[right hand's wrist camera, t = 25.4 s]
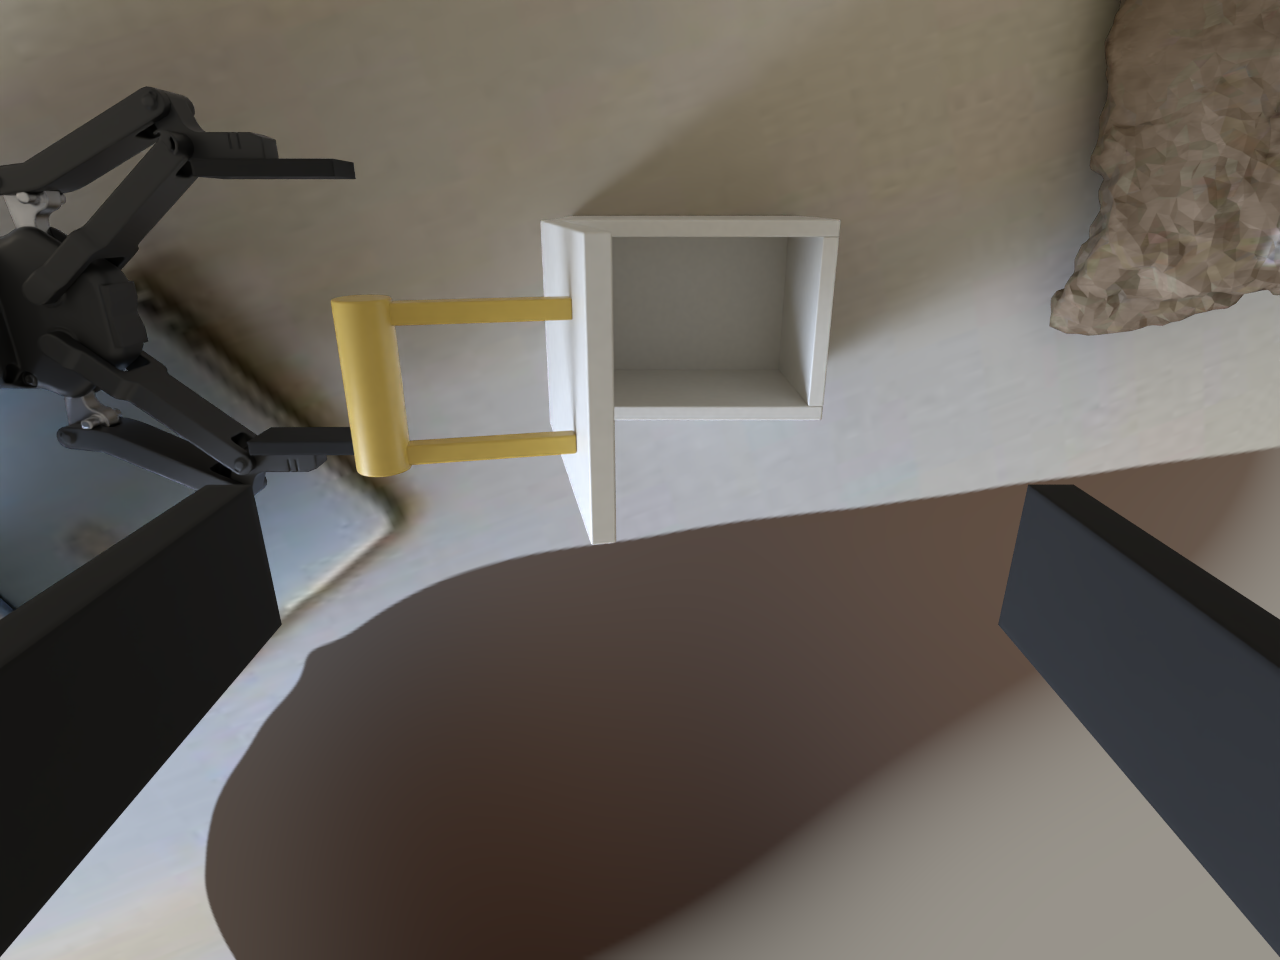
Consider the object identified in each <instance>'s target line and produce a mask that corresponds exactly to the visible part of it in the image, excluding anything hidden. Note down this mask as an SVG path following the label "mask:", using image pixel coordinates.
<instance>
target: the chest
mask: <svg viewBox="0 0 1280 960" xmlns="http://www.w3.org/2000/svg"><path fill="white" fill-rule="evenodd" d="M553 220H560V221H565V222H569V223H574V224H578V225H582V226H587V227H591V228H596V229H600V230H605V231H609V232H611V233H612V272H613V345H614V418H615V420H821V419H822V410H823V407H822V406H823V401H824V391H825V381H826V370H827V360H828V349H829V339H830V329H831V318H832V308H833V298H834V287H835V277H836V266H837V256H838V246H839V234H840V224H841V220H839V219H829V218H818V217H807V216H567V217H562V218H557V219H553Z"/></svg>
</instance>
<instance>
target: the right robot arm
mask: <svg viewBox="0 0 1280 960" xmlns="http://www.w3.org/2000/svg"><path fill="white" fill-rule="evenodd" d="M281 625H282V624H281V619H280V614H279V610H278V605H277V600H276V596H275V591H274V586H273V582H272V577H271V572H270V568H269V563H268V558H267V554H266V549H265V544H264V540H263V535H262V530H261V526H260V521H259V516H258V511H257V507H256V502H255V497H254V493H253V488H252V485H205V486H204V487H202V488H201V489H199V490H198V491H196V492H195V493H193V494H191V495H190V496H188V497H187V498H185V499H184V500H182V501H181V502H179V503H178V504H176V505H175V506H173V507H172V508H170V509H169V510H167V511H165V512H164V513H162V514H161V515H159V516H158V517H156V518H155V519H153V520H152V521H150V522H149V523H147V524H146V525H144V526H143V527H141V528H139V529H138V530H136V531H135V532H133V533H132V534H130V535H129V536H127V537H126V538H124V539H123V540H121V541H120V542H118V543H117V544H115V545H113V546H112V547H110V548H109V549H107V550H106V551H104V552H103V553H101V554H100V555H98V556H97V557H95V558H94V559H92V560H91V561H89V562H87V563H86V564H84V565H83V566H81V567H80V568H78V569H77V570H75V571H74V572H72V573H71V574H69V575H68V576H66V577H65V578H63V579H61V580H60V581H58V582H57V583H55V584H54V585H52V586H51V587H49V588H48V589H46V590H45V591H43V592H42V593H40V594H39V595H37V596H35V597H34V598H32V599H31V600H29V601H28V602H26V603H25V604H23V605H22V606H20V607H19V608H17V609H16V610H14V611H13V612H11V613H9V614H8V615H6V616H5V617H3V618H2V619H0V957H1V955H2V954H3V953H4V952H5V951H6V950H7V948H8V947H9V946H10V945H11V944H12V942H13V941H14V940H15V939H16V938H17V937H18V935H19V934H20V933H21V932H22V931H23V929H24V928H25V927H26V926H27V925H28V924H29V922H30V921H31V920H32V919H33V918H34V916H35V915H36V914H37V913H38V912H39V911H40V909H41V908H42V907H43V906H44V905H45V904H46V902H47V901H48V900H49V899H50V898H51V896H52V895H53V894H54V893H55V892H56V891H57V889H58V888H59V887H60V886H61V885H62V883H63V882H64V881H65V880H66V879H67V878H68V876H69V875H70V874H71V873H72V872H73V870H74V869H75V868H76V867H77V866H78V865H79V863H80V862H81V861H82V860H83V859H84V857H85V856H86V855H87V854H88V853H89V852H90V850H91V849H92V848H93V847H94V846H95V844H96V843H97V842H98V841H99V840H100V839H101V837H102V836H103V835H104V834H105V833H106V831H107V830H108V829H109V828H110V827H111V826H112V824H113V823H114V822H115V821H116V820H117V818H118V817H119V816H120V815H121V814H122V813H123V811H124V810H125V809H126V808H127V807H128V805H129V804H130V803H131V802H132V801H133V800H134V798H135V797H136V796H137V795H138V794H139V792H140V791H141V790H142V789H143V788H144V787H145V785H146V784H147V783H148V782H149V781H150V779H151V778H152V777H153V776H154V775H155V774H156V772H157V771H158V770H159V769H160V768H161V766H162V765H163V764H164V763H165V762H166V761H167V759H168V758H169V757H170V756H171V755H172V753H173V752H174V751H175V750H176V749H177V748H178V746H179V745H180V744H181V743H182V742H183V740H184V739H185V738H186V737H187V736H188V735H189V733H190V732H191V731H192V730H193V729H194V727H195V726H196V725H197V724H198V723H199V722H200V720H201V719H202V718H203V717H204V716H205V714H206V713H207V712H208V711H209V710H210V709H211V707H212V706H213V705H214V704H215V703H216V701H217V700H218V699H219V698H220V697H221V696H222V694H223V693H224V692H225V691H226V690H227V689H228V687H229V686H230V685H231V684H232V683H233V681H234V680H235V679H236V678H237V677H238V676H239V674H240V673H241V672H242V671H243V670H244V668H245V667H246V666H247V665H248V664H249V663H250V661H251V660H252V659H253V658H254V657H255V655H256V654H257V653H258V652H259V651H260V650H261V648H262V647H263V646H264V645H265V644H266V642H267V641H268V640H269V639H270V638H271V637H272V635H273V634H274V633H275V632H276V631H277V629H278V628H279V627H280V626H281ZM998 625H999V626H1000V627H1001V628H1002V629H1003V631H1004V632H1005V633H1006V634H1007V635H1008V637H1009V638H1010V639H1011V640H1012V641H1013V642H1014V644H1015V645H1016V646H1017V647H1018V648H1019V649H1020V651H1021V652H1022V653H1023V654H1024V655H1025V657H1026V658H1027V659H1028V660H1029V661H1030V662H1031V664H1032V665H1033V666H1034V667H1035V668H1036V670H1037V671H1038V672H1039V673H1040V674H1041V675H1042V677H1043V678H1044V679H1045V680H1046V681H1047V683H1048V684H1049V685H1050V686H1051V687H1052V689H1053V690H1054V691H1055V692H1056V693H1057V694H1058V696H1059V697H1060V698H1061V699H1062V700H1063V701H1064V703H1065V704H1066V705H1067V706H1068V707H1069V709H1070V710H1071V711H1072V712H1073V713H1074V714H1075V716H1076V717H1077V718H1078V719H1079V720H1080V722H1081V723H1082V724H1083V725H1084V726H1085V727H1086V729H1087V730H1088V731H1089V732H1090V733H1091V734H1092V736H1093V737H1094V738H1095V739H1096V740H1097V742H1098V743H1099V744H1100V745H1101V746H1102V748H1103V749H1104V750H1105V751H1106V752H1107V753H1108V755H1109V756H1110V757H1111V758H1112V759H1113V760H1114V762H1115V763H1116V764H1117V765H1118V766H1119V768H1120V769H1121V770H1122V771H1123V772H1124V774H1125V775H1126V776H1127V777H1128V778H1129V779H1130V781H1131V782H1132V783H1133V784H1134V785H1135V787H1136V788H1137V789H1138V790H1139V791H1140V792H1141V794H1142V795H1143V796H1144V797H1145V798H1146V800H1147V801H1148V802H1149V803H1150V804H1151V805H1152V807H1153V808H1154V809H1155V810H1156V811H1157V813H1158V814H1159V815H1160V816H1161V817H1162V818H1163V820H1164V821H1165V822H1166V823H1167V824H1168V826H1169V827H1170V828H1171V829H1172V830H1173V831H1174V833H1175V834H1176V835H1177V836H1178V837H1179V839H1180V840H1181V841H1182V842H1183V843H1184V844H1185V846H1186V847H1187V848H1188V849H1189V850H1190V851H1191V853H1192V854H1193V855H1194V856H1195V857H1196V859H1197V860H1198V861H1199V862H1200V863H1201V864H1202V866H1203V867H1204V868H1205V869H1206V870H1207V872H1208V873H1209V874H1210V875H1211V876H1212V878H1213V879H1214V880H1215V881H1216V882H1217V883H1218V885H1219V886H1220V887H1221V888H1222V889H1223V891H1224V892H1225V893H1226V894H1227V895H1228V896H1229V898H1230V899H1231V900H1232V901H1233V902H1234V903H1235V905H1236V906H1237V907H1238V908H1239V909H1240V911H1241V912H1242V913H1243V914H1244V915H1245V916H1246V918H1247V919H1248V920H1249V921H1250V922H1251V924H1252V925H1253V926H1254V927H1255V928H1256V929H1257V931H1258V932H1259V933H1260V934H1261V935H1262V937H1263V938H1264V939H1265V940H1266V941H1267V942H1268V944H1269V945H1270V946H1271V947H1272V948H1273V950H1274V951H1275V952H1276V953H1277V954H1278V955H1279V957H1280V619H1278V618H1277V617H1275V616H1274V615H1272V614H1271V613H1269V612H1267V611H1266V610H1264V609H1263V608H1261V607H1260V606H1258V605H1257V604H1255V603H1254V602H1252V601H1251V600H1249V599H1248V598H1246V597H1244V596H1243V595H1241V594H1240V593H1238V592H1237V591H1235V590H1234V589H1232V588H1231V587H1229V586H1228V585H1226V584H1225V583H1223V582H1222V581H1220V580H1218V579H1217V578H1215V577H1214V576H1212V575H1211V574H1209V573H1208V572H1206V571H1205V570H1203V569H1202V568H1200V567H1199V566H1197V565H1196V564H1194V563H1193V562H1191V561H1189V560H1188V559H1186V558H1185V557H1183V556H1182V555H1180V554H1179V553H1177V552H1176V551H1174V550H1173V549H1171V548H1170V547H1168V546H1167V545H1165V544H1163V543H1162V542H1160V541H1159V540H1157V539H1156V538H1154V537H1153V536H1151V535H1150V534H1148V533H1147V532H1145V531H1144V530H1142V529H1141V528H1139V527H1137V526H1136V525H1134V524H1133V523H1131V522H1130V521H1128V520H1127V519H1125V518H1124V517H1122V516H1121V515H1119V514H1118V513H1116V512H1115V511H1113V510H1111V509H1110V508H1108V507H1107V506H1105V505H1104V504H1102V503H1101V502H1099V501H1098V500H1096V499H1095V498H1093V497H1092V496H1090V495H1089V494H1087V493H1085V492H1084V491H1082V490H1081V489H1079V488H1078V487H1076V486H1075V485H1028V488H1027V493H1026V498H1025V502H1024V507H1023V512H1022V516H1021V521H1020V526H1019V530H1018V535H1017V540H1016V544H1015V549H1014V554H1013V558H1012V563H1011V568H1010V572H1009V577H1008V582H1007V586H1006V591H1005V596H1004V601H1003V605H1002V610H1001V615H1000V619H999V624H998Z"/></svg>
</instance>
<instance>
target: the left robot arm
mask: <svg viewBox="0 0 1280 960" xmlns="http://www.w3.org/2000/svg"><path fill="white" fill-rule="evenodd" d="M194 114H195V110H194V106H193V104H192V102H191V101H190V100H189V99H188V98H187V97H185V96H183V95H179V94H175V93H171V92H168V91H164V90H160V89H156V88H152V87H143V88H141V89H139V90H138V91H136V92H135V93H133V94H131V95H130V96H128V97H127V98H125V99H124V100H122V101H120V102H119V103H117V104H116V105H114V106H112V107H111V108H109V109H108V110H106V111H105V112H103V113H101V114H100V115H98V116H97V117H95V118H94V119H92V120H90V121H89V122H87V123H86V124H84V125H82V126H81V127H79V128H78V129H76V130H75V131H73V132H71V133H70V134H68V135H67V136H65V137H64V138H62V139H60V140H59V141H57V142H56V143H54V144H52V145H51V146H49V147H48V148H46V149H45V150H43V151H41V152H40V153H38V154H37V155H35V156H33V157H32V158H30V159H29V160H27V161H26V162H24V163H18V164H11V165H3V166H0V195H3V197H4V200H5V202H6V205H7V207H8V210H9V212H10V215H11V217H12V220H13V222H14V225H15V227H16V229H14V230H13V231H11V232H10V233H9V234H7V235H5V236H2V237H0V389H33V388H39V389H46V390H50V391H52V392H55V393H57V394H59V395H61V396H64V399H65V405H66V411H67V417H68V423H69V425H67V426H65V427H62V428H61V429H59V430H58V432H57V439H58V441H59V442H60V443H61V445H63V446H64V447H66V448H69V449H77V450H87V451H97V452H104V453H107V454H109V455H111V456H114V457H116V458H119V459H121V460H124V461H126V462H128V463H131V464H133V465H136V466H138V467H141V468H143V469H146V470H148V471H150V472H153V473H155V474H158V475H160V476H163V477H165V478H167V479H170V480H172V481H175V482H177V483H180V484H182V485H184V486H187V487H189V488H192V489H194V490H197V491H198V490H199V489H201V488H202V487H204V486H205V485H252V488H253V493H254V495H256V494H257V493H258V492H260V491H261V490H262V489H264V488H265V486H266V485H267V479H266V477H265V472H290V471H291V472H297V471H298V472H309V471H311V470H314V469H316V468H318V467H319V466H320V465H321V464H323V463H324V462H325V461H326V460H327V455H354V449H353V442H352V436H351V429H350V427H271V428H269V429H268V430H266V431H264V432H263V433H261V434H259V435H258V436H257V435H256V434H254V433H253V432H251V431H250V430H248V429H247V428H246V427H244V426H243V425H241V424H240V423H238V422H237V421H235V420H234V419H233V418H231V417H230V416H228V415H227V414H225V413H224V412H222V411H221V410H220V409H218V408H217V407H215V406H214V405H212V404H211V403H209V402H208V401H207V400H205V399H204V398H202V397H201V396H199V395H198V394H196V393H195V392H194V391H192V390H191V389H189V388H188V387H186V386H185V385H183V384H182V383H181V382H179V381H178V380H176V379H175V378H173V377H172V376H170V375H169V374H168V373H167V368H166V367H165V366H164V365H163V364H161V363H160V362H159V361H157V360H156V359H154V358H153V357H151V356H150V355H149V354H147V353H146V352H144V351H143V350H142V349H143V343H144V342H147V341H148V338H147V334H146V330H145V326H144V324H143V322H142V320H141V318H140V316H139V314H138V312H137V292H136V288H135V284H134V281H128V279H127V278H126V276H125V275H124V273H123V272H122V271H121V269H122V268H123V267H124V266H125V265H126V263H127V262H128V261H129V260H130V259H131V258H132V257H133V256H134V255H135V253H136V252H137V251H138V249H139V247H138V244H139V242H140V241H141V240H142V239H143V238H144V237H145V236H146V235H147V234H148V232H149V231H150V230H151V229H152V228H153V227H154V226H155V225H156V224H157V222H158V221H159V220H160V219H161V218H162V217H163V216H164V215H165V213H166V212H167V211H168V210H169V209H170V208H171V207H172V206H173V205H174V203H175V202H176V201H177V200H178V199H179V198H180V197H181V196H182V195H183V193H184V192H185V191H186V190H187V189H188V188H189V187H190V186H191V184H192V183H193V182H194V181H195V180H196V179H197V178H198V177H207V178H219V179H356V178H355V171H354V163H353V162H347V161H342V160H336V159H279V158H278V152H277V146H276V140H274V139H272V138H269V137H267V136H265V135H260V134H255V133H251V132H205V131H203V130H202V128H201V127H200V126H199V125H198V123H197V121H196V119H195V117H194ZM154 143H155V144H154ZM152 144H154V146H153V147H152V148H151V149H150V150H149V151H148V153H147V154H146V155H145V156H144V157H143V158H142V160H141V161H140V162H139V163H138V164H137V165H136V166H135V168H134V169H133V170H132V171H131V172H130V173H129V175H128V176H127V177H126V178H125V179H124V180H123V181H122V183H121V184H120V185H119V186H118V187H117V188H116V190H115V191H114V192H113V193H112V194H111V195H110V196H109V198H108V199H107V200H106V201H105V202H104V203H103V205H102V206H101V207H100V208H99V209H98V210H97V212H96V213H95V214H94V215H93V216H92V217H91V218H90V220H89V221H88V222H87V223H86V224H85V225H84V226H83V227H82V228H79V229H77V230H75V231H73V232H72V233H70V234H69V235H66V234H64V233H63V232H61V231H60V230H58V229H55V228H53V227H50V225H49V216H50V214H51V213H52V212H53V211H55V210H58V209H59V208H60V207H61V204H64V203H65V202H66V198H65V196H64V194H63V193H67V192H72V191H75V190H77V189H80V188H82V187H84V186H86V185H88V184H89V183H91V182H92V181H94V180H96V179H97V178H99V177H101V176H102V175H104V174H105V173H107V172H109V171H110V170H112V169H114V168H115V167H117V166H118V165H120V164H122V163H123V162H125V161H127V160H128V159H130V158H131V157H133V156H135V155H136V154H138V153H140V152H141V151H143V150H144V149H146V148H148V147H149V146H151V145H152ZM125 368H126V369H127V370H129V371H123V370H124V369H125ZM100 390H103V391H104V392H106V393H107V394H109V395H110V396H112V397H114V398H116V399H120V400H126V401H129V402H131V403H132V404H134V405H135V406H137V407H138V408H140V409H141V410H143V411H144V412H146V413H147V414H149V415H150V416H151V417H153V418H154V419H156V420H157V421H159V422H160V423H162V424H163V425H165V426H166V427H168V428H169V429H171V430H172V431H174V432H175V433H177V434H178V435H180V436H181V437H183V438H184V439H186V440H187V441H186V440H184V439H181V438H179V437H177V436H174V435H172V434H169V433H167V432H165V431H162V430H160V429H158V428H155V427H153V426H151V425H148V424H146V423H143V422H140V421H137V420H133V419H130V418H123V417H122V413H121V411H120V410H119V409H116V408H114V409H112V408H110V407H108V406H105V405H103V404H101V403H100V402H99V401H98V399H97V398H96V395H95V392H98V391H100ZM188 441H189V442H188ZM13 611H14V610H13V609H12V608H11V607H10V606H9V605H8V604H7V603H5V602H4V601H3V600H2V599H1V598H0V619H2V618H3V617H5V616H6V615H8V614H9V613H11V612H13Z"/></svg>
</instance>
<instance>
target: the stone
mask: <svg viewBox="0 0 1280 960" xmlns="http://www.w3.org/2000/svg"><path fill="white" fill-rule="evenodd" d="M1120 1H1121V4H1120V9H1119V10H1118V12H1117V13H1116V15H1115V19H1114V23H1113V26H1112V28H1111V30H1110V32H1109V34H1108V36H1107V38H1106V40H1105V56H1106V62H1107V70H1106V73H1105V75H1106V78H1107V81H1108V92H1107V101H1106V103H1105V106H1104V108H1103V111H1102V113H1101V115H1100V118H1099V128H1100V130H1099V136H1098V141H1097V144H1096V147H1095V149H1094V151H1093V153H1092V155H1091V160H1090V167H1091V170H1093V171H1095V172H1096V173H1098V174H1100V175H1102V176H1103V179H1104V180H1103V182H1102V185H1101V187H1100V189H1099V202H1100V205H1101V208H1100V212H1099V213H1098V215H1097V217H1096V218H1095V220H1094V222H1093V223H1092V225H1091V226H1090V232H1089V236H1090V238H1089V239H1088V240H1087V241H1086V242H1085V243H1084V244H1082V246H1081V248H1080V250H1079V252H1078V254H1077V256H1076V258H1075V271H1074V274H1073V275H1072V276H1071V277H1070V279H1069V280H1068V282H1067V283H1066V285H1065V288H1064V289H1061V290H1058V291H1057V292H1056V293H1055V294H1054V296H1053V297H1052V298H1051V317H1050V327H1053V328H1055V329H1057V330H1060V331H1062V332H1064V333H1067V334H1082V335H1101V334H1109V333H1118V332H1126V331H1132V330H1136V329H1140V328H1143V327H1145V326H1150V325H1160V326H1163V325H1165V324H1168V323H1170V322H1175V321H1180V320H1183V319H1185V318H1187V317H1189V316H1192V315H1194V314H1197V313H1202V312H1207V311H1210V310H1215V309H1225V308H1229V307H1230V306H1232V305H1234V304H1236V303H1237V301H1238V300H1239V299H1240V298H1241V297H1242V296H1243V295H1244V294H1247V293H1252V292H1257V291H1261V290H1269V291H1270V292H1271V293H1272V294H1273V295H1280V0H1120Z"/></svg>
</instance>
